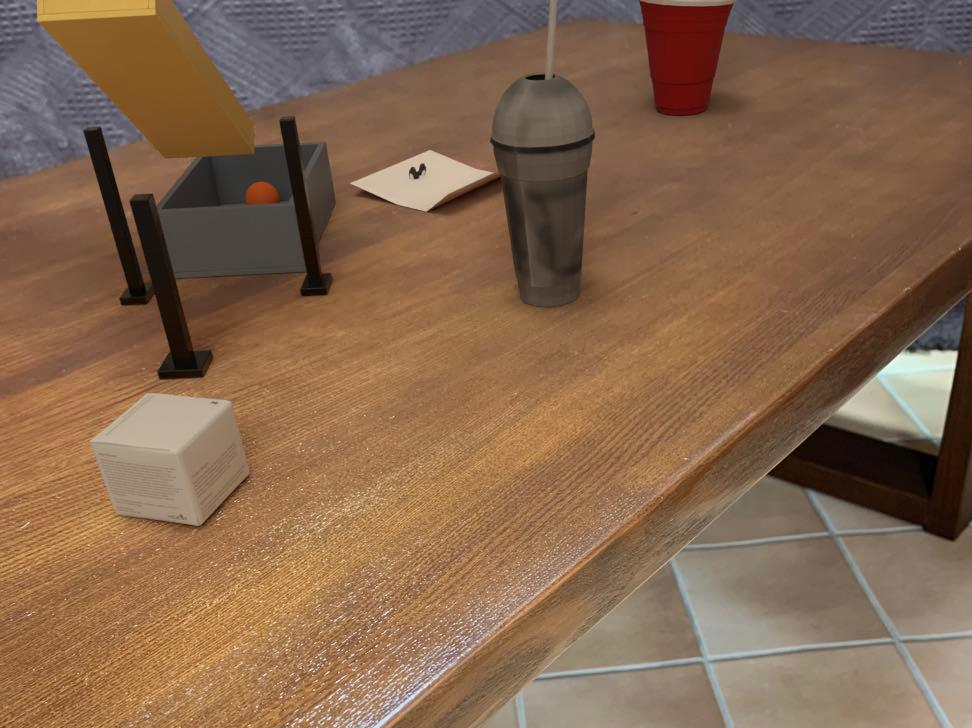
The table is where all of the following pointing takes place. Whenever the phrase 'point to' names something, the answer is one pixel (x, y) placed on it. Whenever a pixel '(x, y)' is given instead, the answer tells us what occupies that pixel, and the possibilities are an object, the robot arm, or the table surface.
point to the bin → (242, 213)
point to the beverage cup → (544, 179)
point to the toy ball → (261, 194)
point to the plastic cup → (684, 50)
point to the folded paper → (425, 181)
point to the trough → (152, 73)
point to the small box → (171, 458)
